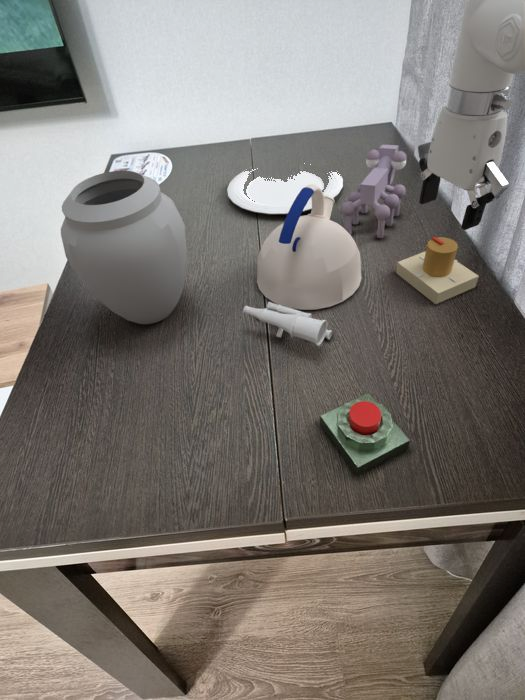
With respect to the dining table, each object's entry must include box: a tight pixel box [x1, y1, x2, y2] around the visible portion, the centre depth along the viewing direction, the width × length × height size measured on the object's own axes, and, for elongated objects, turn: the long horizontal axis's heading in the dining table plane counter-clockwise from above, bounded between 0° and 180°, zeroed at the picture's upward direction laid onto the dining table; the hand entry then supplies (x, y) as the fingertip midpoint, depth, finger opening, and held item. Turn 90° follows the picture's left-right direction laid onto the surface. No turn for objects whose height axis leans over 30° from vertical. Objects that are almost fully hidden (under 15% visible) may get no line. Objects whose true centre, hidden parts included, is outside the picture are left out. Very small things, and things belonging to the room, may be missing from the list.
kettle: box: [256, 184, 363, 311], centre depth 79 cm, size 20×21×18 cm
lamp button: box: [349, 401, 381, 434], centre depth 56 cm, size 4×4×2 cm
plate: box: [226, 163, 344, 216], centre depth 110 cm, size 29×29×2 cm
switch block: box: [319, 392, 411, 476], centre depth 58 cm, size 9×8×4 cm
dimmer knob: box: [423, 236, 459, 277], centre depth 78 cm, size 5×5×5 cm
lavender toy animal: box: [340, 144, 407, 239], centre depth 94 cm, size 20×11×14 cm, turn 150°
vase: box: [60, 170, 188, 325], centre depth 74 cm, size 20×20×24 cm
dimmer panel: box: [395, 250, 480, 305], centre depth 80 cm, size 11×9×3 cm
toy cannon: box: [242, 301, 333, 347], centre depth 72 cm, size 8×14×5 cm
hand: (447, 213), depth 72 cm, fingers open, 9 cm apart
